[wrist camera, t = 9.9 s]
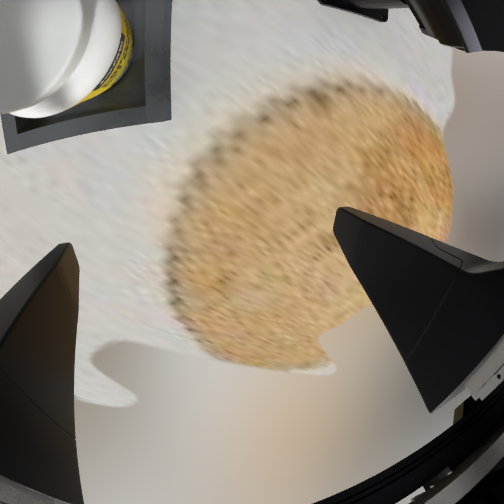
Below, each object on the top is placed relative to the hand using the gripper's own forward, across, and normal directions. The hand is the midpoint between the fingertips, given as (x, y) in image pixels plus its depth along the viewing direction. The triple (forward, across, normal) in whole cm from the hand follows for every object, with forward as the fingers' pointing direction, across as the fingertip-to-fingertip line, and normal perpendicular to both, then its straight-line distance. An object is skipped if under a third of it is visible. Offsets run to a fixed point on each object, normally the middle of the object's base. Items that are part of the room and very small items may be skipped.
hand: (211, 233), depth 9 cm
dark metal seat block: (+13, +6, -7) cm, 16 cm away
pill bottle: (+12, +6, -7) cm, 15 cm away
